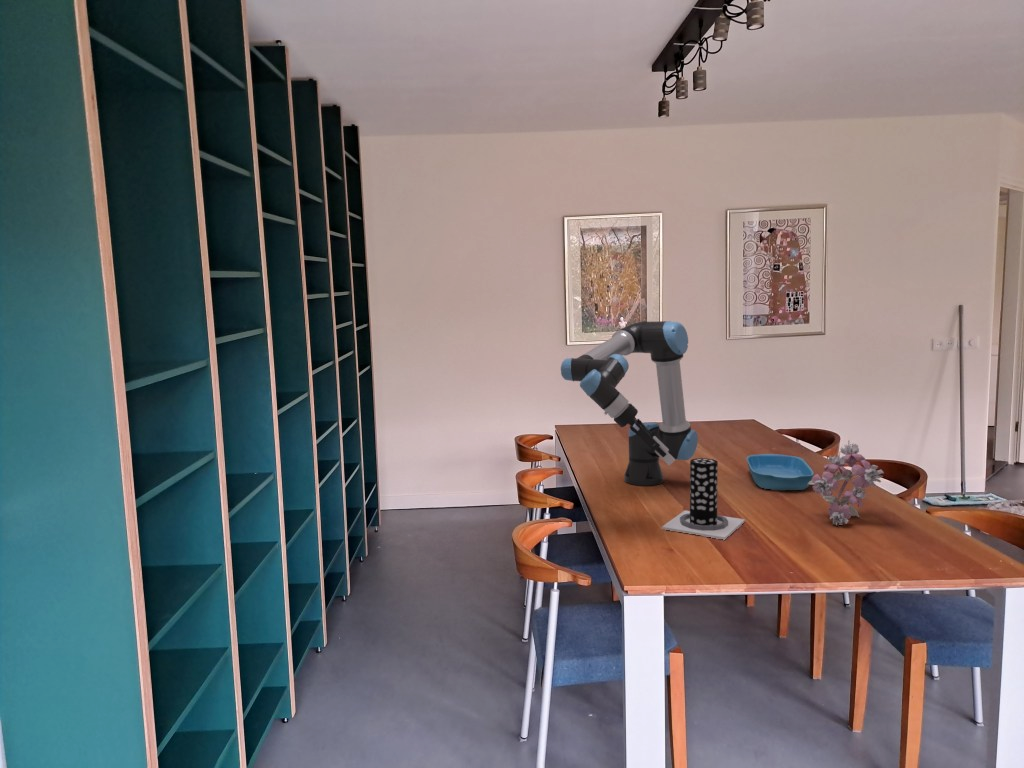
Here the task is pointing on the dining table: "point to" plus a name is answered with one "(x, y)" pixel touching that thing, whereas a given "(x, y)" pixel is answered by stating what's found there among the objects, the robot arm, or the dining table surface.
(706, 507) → the spotted tube
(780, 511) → the dining table surface
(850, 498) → the flower
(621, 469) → the dining table surface
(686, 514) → the ring dock
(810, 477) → the casserole dish
